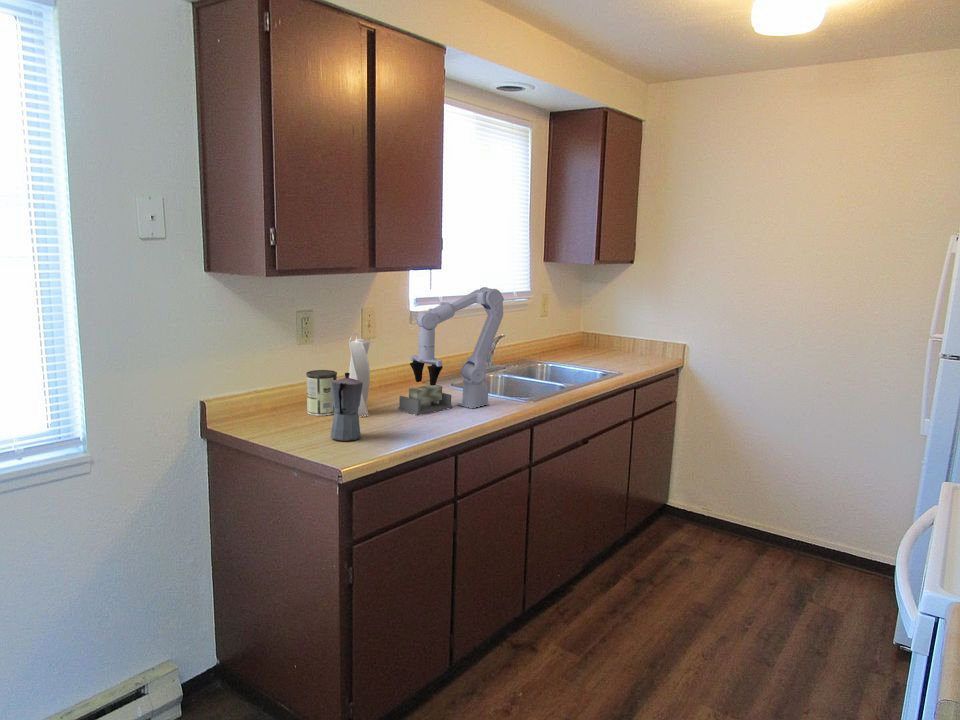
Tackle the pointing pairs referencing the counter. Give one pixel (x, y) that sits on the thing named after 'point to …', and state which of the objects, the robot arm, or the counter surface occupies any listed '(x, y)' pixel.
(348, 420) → the moka pot
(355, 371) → the skyscraper
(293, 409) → the counter surface
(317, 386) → the coffee can
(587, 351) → the counter surface
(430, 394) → the olive green rectangular block
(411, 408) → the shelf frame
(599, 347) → the counter surface
